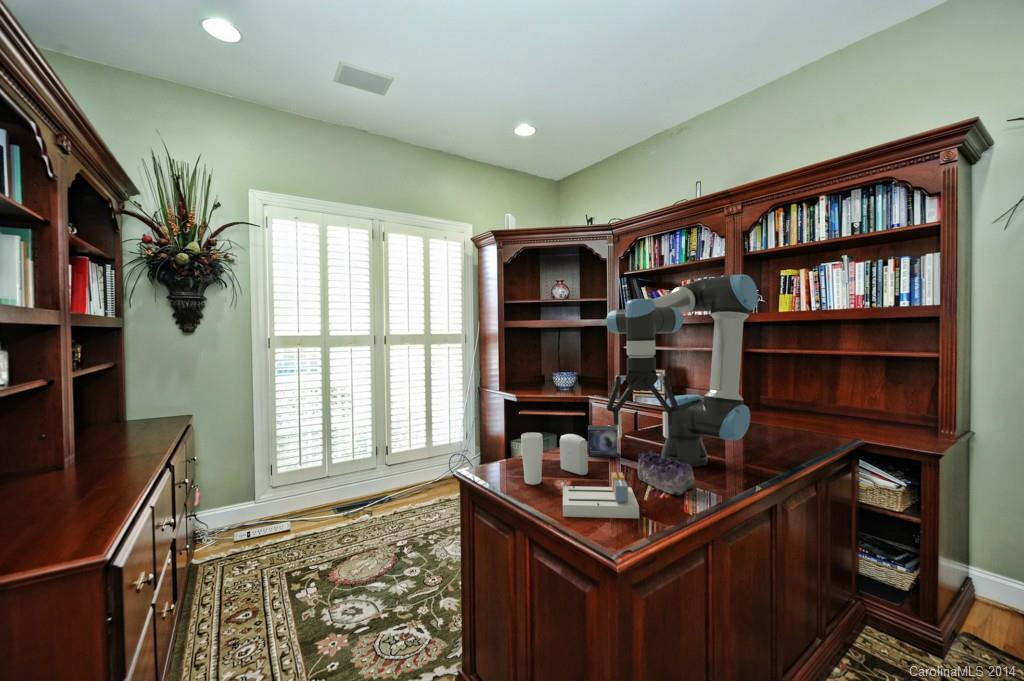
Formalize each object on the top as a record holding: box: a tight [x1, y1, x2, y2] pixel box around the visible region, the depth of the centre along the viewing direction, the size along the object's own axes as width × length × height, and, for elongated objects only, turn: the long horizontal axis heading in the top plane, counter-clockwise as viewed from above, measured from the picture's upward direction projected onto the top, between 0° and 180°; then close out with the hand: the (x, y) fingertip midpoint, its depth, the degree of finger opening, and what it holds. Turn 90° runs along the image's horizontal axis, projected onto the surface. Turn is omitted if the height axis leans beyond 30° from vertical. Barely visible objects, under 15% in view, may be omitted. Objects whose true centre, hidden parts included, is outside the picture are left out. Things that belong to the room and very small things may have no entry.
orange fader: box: [610, 471, 625, 492], centre depth 118 cm, size 3×4×4 cm
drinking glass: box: [520, 432, 544, 486], centre depth 135 cm, size 7×7×15 cm
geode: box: [637, 448, 696, 497], centre depth 130 cm, size 20×12×10 cm, turn 27°
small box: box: [587, 425, 618, 458], centre depth 162 cm, size 11×6×10 cm, turn 81°
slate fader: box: [614, 480, 629, 502], centre depth 111 cm, size 3×4×4 cm
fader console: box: [562, 485, 640, 519], centre depth 115 cm, size 19×13×3 cm
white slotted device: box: [559, 433, 589, 476], centre depth 144 cm, size 10×4×12 cm, turn 39°
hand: (642, 436), depth 117 cm, fingers open, 11 cm apart
